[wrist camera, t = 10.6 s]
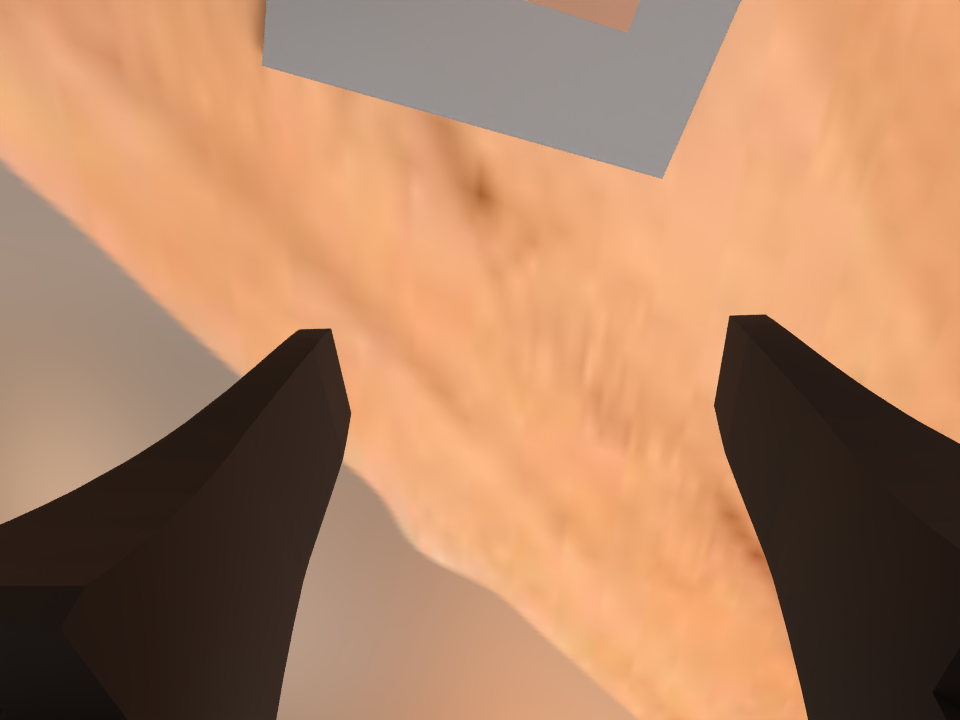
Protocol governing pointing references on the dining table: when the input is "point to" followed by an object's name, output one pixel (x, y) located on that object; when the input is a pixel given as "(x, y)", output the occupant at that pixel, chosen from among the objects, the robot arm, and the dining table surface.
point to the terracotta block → (597, 11)
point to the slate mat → (515, 66)
